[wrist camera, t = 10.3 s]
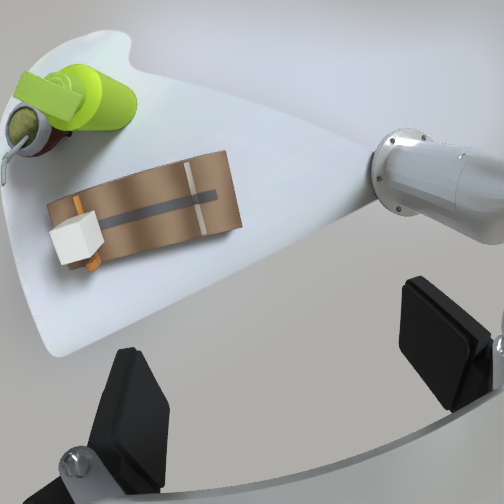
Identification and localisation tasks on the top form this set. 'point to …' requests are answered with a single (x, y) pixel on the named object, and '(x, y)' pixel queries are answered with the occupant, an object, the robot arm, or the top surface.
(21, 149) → the mate gourd
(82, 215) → the fader knob
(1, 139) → the top surface
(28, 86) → the soap dispenser
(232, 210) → the fader console
